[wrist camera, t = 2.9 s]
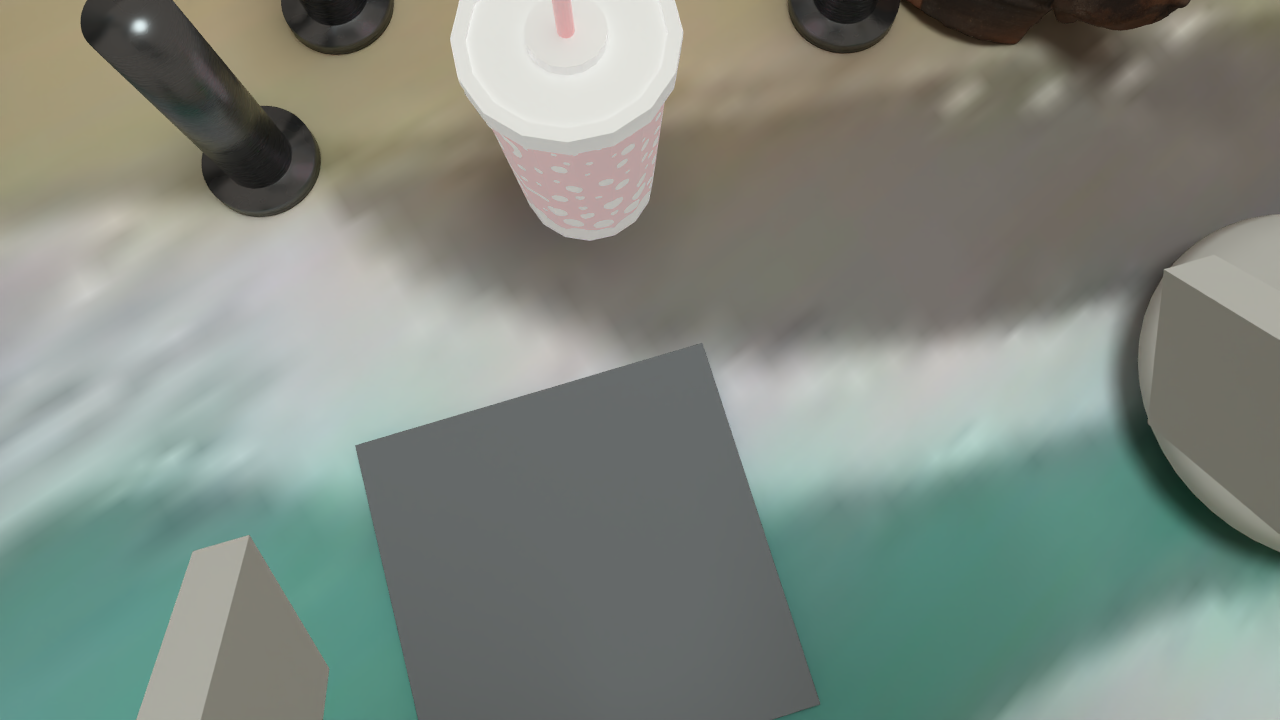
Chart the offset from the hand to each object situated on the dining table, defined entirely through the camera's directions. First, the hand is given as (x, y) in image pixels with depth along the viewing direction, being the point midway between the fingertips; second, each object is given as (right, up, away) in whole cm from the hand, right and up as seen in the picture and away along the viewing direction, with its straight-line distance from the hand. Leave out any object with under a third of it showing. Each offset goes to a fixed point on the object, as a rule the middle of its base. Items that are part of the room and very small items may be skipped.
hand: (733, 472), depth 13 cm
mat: (-3, -5, +17) cm, 18 cm away
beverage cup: (-3, +8, +20) cm, 22 cm away
